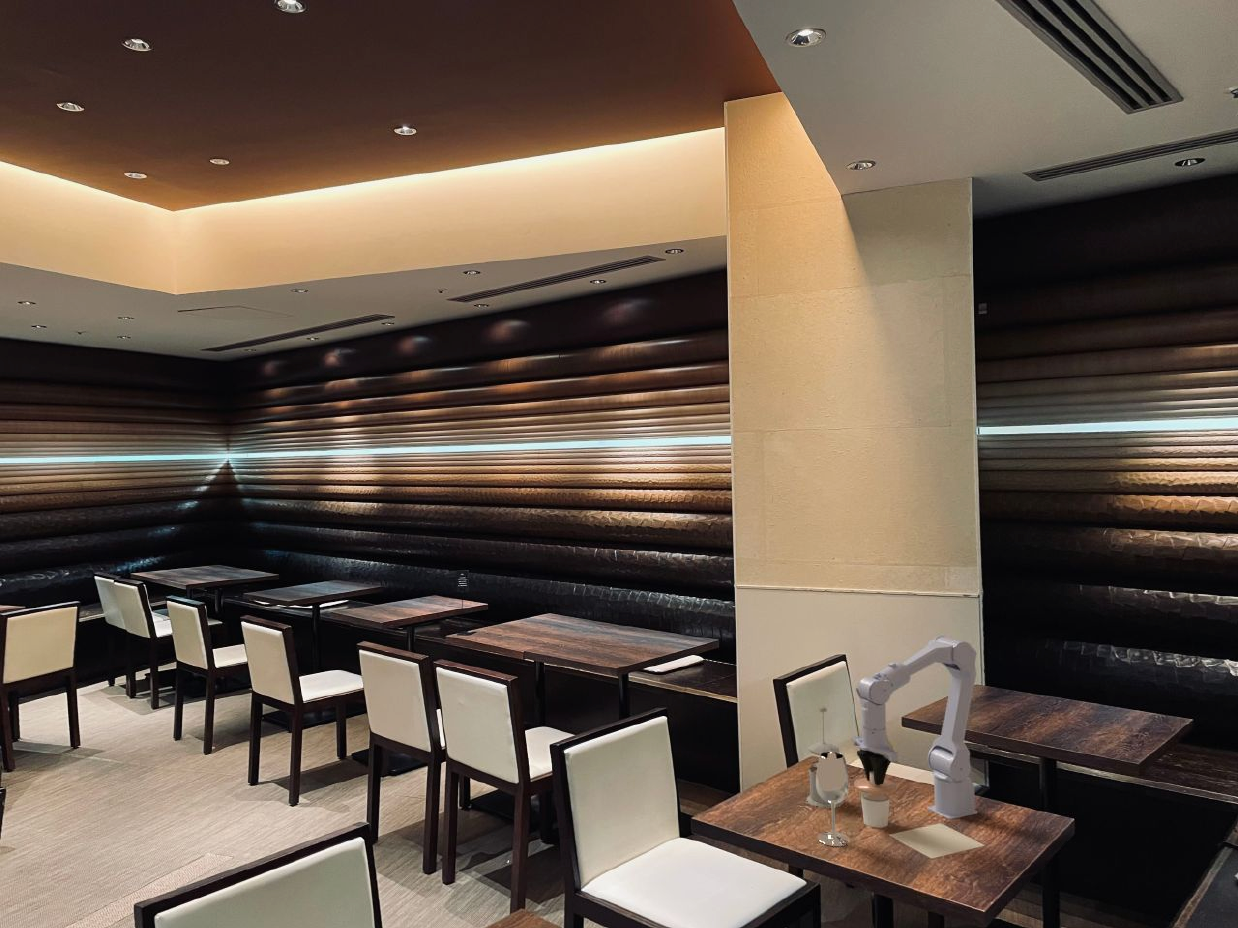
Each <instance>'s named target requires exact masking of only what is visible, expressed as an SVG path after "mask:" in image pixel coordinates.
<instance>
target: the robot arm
mask: <svg viewBox="0 0 1238 928" xmlns="http://www.w3.org/2000/svg"><path fill="white" fill-rule="evenodd" d="M976 658H977V652H976V650H975V649H974V647H973V646H972V645H971V644H970V643H969V642H967V641H961V640H957V639H953V638H951V637H950V638H949V637H946V636H944V635H939V636H936V637H934V639H932V640H929V641H928V643H927V645H926V646H925V647H923V648H922V649H921V650H919V651H918V652H916V653H914V655H913V656H911V657H909V658H908V659H907V660H905V661H903V662H902V663H901V662H897V661H895V662H893V661H892V662H889V663H888V666H886V667H885V668H883V669H882V670H880V671H879V672H876V671H875V673H874V674H873V675H872V676H865V677H863V678H862V679H860V681H858V682H859V683H858V684H857V687H856V688H855V692H856V694H857V697H859V699H860V701H859V702H860V705H861V736H853V737H852V739H851V740H852V746H854V747H859V749H860V750H857V751H856V755H857V757H858V758H859V760H860V761H861V764H862V768H863V771H864V774H865V778H867V781H870V771H873V772H874V781H875V784H876V785H881V784H883V783H884V779H885V778H886V775H887V771H888V769H889V766H890V764H891V763H892V762H897V761H899V755H898V754H899V752H897V751H895V750H894V749H893V748H891V747H890V746H889V745H887V723H886V722H887V721H886V720H887V719H886V711H887V710H886V703H887V702H889V699H890V698H891V696H892V695H893V693H894V692H896V691H897V690H899V689H901V688H902V687H904V686H905V685H907V684H908V683H910V681H911V676H913V675H915V674H916V673H918V672H919V671H922V670H924V669H925V668H928V667H930V666H932V665H933V664H935V663H938V664H941V665H943V666H944V667H945V668H946V670H947V671H948V672H949V674H950V675H951V680H950V685H949V692H948V696H947V701H946V706H945V713H944V718H943V722H942V723H943V724H942V728H941V735H940V736H939V737H937V738H936V739H934V740H933V742H932V747H931V748H930V749H929V751H928V753H927V759H926V760H927V764H928V767H929V768H931V769H932V770H931V771H932V774H933V780H934V782H933V784H934V785H933V786H934V787H933V790H934V792H933V793H934V805H930V806H927V807H926V808H927V810H929V811H931V812H933V813H936V814H938V815H940V816H942V817H944V818H946V819H949V820H953V819H958V818H962V817H966V816H971V815H977V814H978V811H977V810H976V805H975V804H976V802H975V801H976V800H975V785H974V783H973V779H971V778H970V777H969V775H970V773H971V762H970V761H971V760H970V758H971V757H970V756H971V751H970V750H969V748H968V746H967V745H966V743H965V736H966V731H967V727H968V722H969V720H968V719H969V715H970V710H971V704H972V699H973V693H974V688H975V687H974V686H975V681H976V675H977V670H976ZM885 780H886V779H885Z"/></svg>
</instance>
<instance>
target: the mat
mask: <svg viewBox="0 0 1238 928" xmlns="http://www.w3.org/2000/svg"><path fill="white" fill-rule="evenodd" d="M888 836H890V837H891V838H892V839H894V840H897V841H899V842H900V843H902V844H904V845H906V846H907V847H910V848H911V849H913V850H915V851H917V852H919V853H920V854H921V855H924V856H925V857H927V858H929V859H931V860H932V859H936V858H940V857H945V856H949V855H953V854H957V853H961V852H964V851H968V850H969V851H970V850H974V849H977V848H982V847H986V845H985V844H984V843H981V842H979V841H977V840H975V839H973V838H971V837H969V836H967V835H964V834H963V833H961V832H959V831H956V830H955V829H953V828H951V827H949V826H947V825H945V824H943V823H936V824H931V825H930V824H929V825H927V826H923V827H918V828H914V829H909V830H904V831H900V832H895V833H891V834H888Z"/></svg>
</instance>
